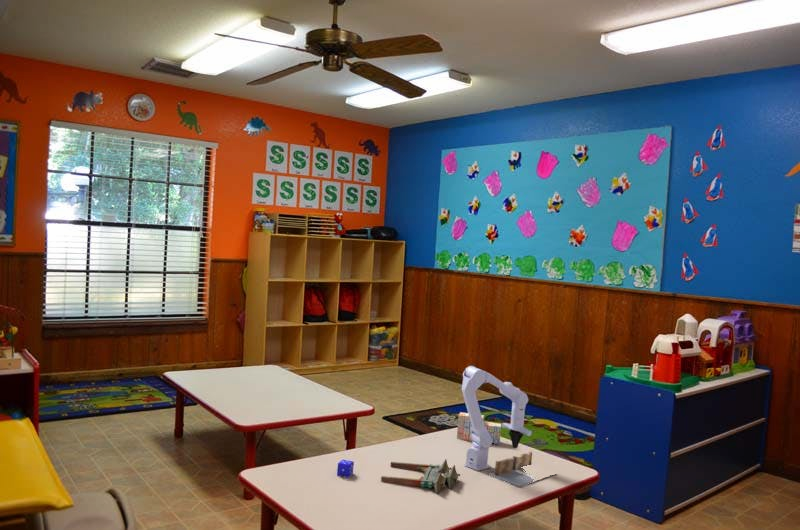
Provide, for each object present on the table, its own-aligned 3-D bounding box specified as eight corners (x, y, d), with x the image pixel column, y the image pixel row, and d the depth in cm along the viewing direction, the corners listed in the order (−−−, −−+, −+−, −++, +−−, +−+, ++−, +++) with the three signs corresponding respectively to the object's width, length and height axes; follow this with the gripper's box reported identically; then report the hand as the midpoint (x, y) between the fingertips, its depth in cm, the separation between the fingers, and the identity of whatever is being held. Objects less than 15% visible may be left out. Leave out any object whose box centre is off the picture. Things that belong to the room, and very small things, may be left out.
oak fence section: (516, 469, 265) (517, 457, 265) (513, 467, 266) (514, 455, 266) (531, 464, 273) (532, 452, 273) (528, 463, 274) (529, 451, 274)
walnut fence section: (496, 475, 255) (498, 462, 255) (493, 474, 257) (495, 461, 257) (516, 469, 265) (517, 457, 265) (513, 468, 266) (514, 456, 266)
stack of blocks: (500, 442, 306) (502, 417, 306) (499, 445, 300) (501, 420, 300) (458, 435, 312) (460, 411, 311) (456, 438, 305) (458, 414, 305)
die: (336, 475, 243) (337, 463, 243) (341, 471, 248) (342, 459, 248) (348, 477, 242) (349, 465, 241) (353, 473, 246) (354, 461, 246)
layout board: (519, 487, 246) (519, 486, 246) (487, 474, 257) (488, 473, 257) (556, 474, 265) (556, 472, 265) (526, 463, 277) (526, 461, 277)
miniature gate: (393, 455, 263) (462, 460, 257) (393, 467, 263) (462, 473, 257) (378, 476, 236) (455, 483, 231) (378, 490, 237) (455, 497, 231)
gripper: (536, 420, 271) (533, 450, 271) (509, 412, 281) (507, 441, 281) (527, 422, 266) (524, 453, 266) (500, 414, 276) (497, 443, 276)
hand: (515, 447), depth 273 cm, fingers closed
